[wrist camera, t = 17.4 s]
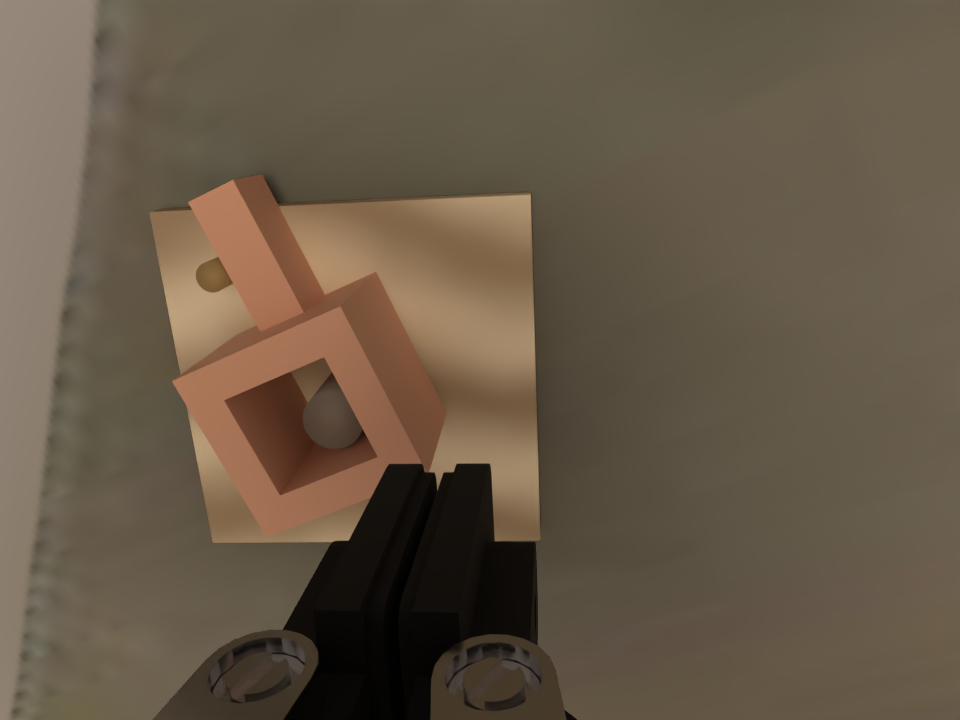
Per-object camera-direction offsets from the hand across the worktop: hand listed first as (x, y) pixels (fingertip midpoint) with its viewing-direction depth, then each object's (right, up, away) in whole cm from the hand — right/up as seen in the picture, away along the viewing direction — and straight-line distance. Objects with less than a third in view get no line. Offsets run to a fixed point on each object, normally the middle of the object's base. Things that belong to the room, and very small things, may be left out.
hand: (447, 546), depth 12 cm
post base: (-5, +2, +21) cm, 22 cm away
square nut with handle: (-7, +5, +19) cm, 21 cm away
